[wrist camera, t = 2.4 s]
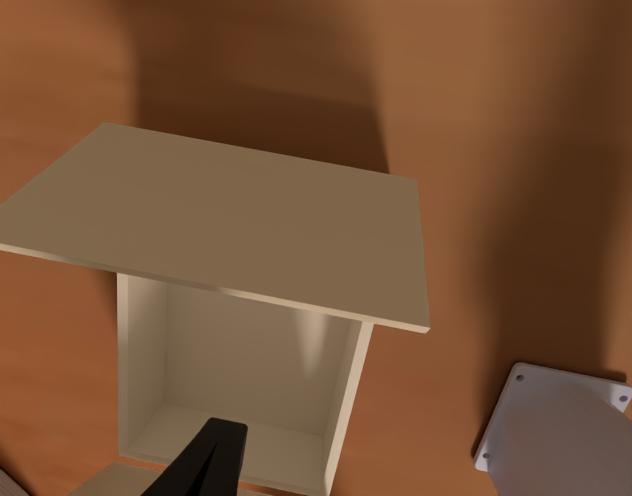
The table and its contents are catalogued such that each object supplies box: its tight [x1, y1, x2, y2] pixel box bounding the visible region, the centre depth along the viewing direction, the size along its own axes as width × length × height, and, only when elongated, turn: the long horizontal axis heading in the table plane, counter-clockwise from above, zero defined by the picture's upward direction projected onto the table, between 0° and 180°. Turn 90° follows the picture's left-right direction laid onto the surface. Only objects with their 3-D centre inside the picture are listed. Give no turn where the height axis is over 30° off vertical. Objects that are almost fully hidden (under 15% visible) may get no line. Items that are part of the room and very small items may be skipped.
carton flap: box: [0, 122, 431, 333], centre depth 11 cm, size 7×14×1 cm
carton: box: [117, 273, 374, 496], centre depth 19 cm, size 20×14×4 cm
